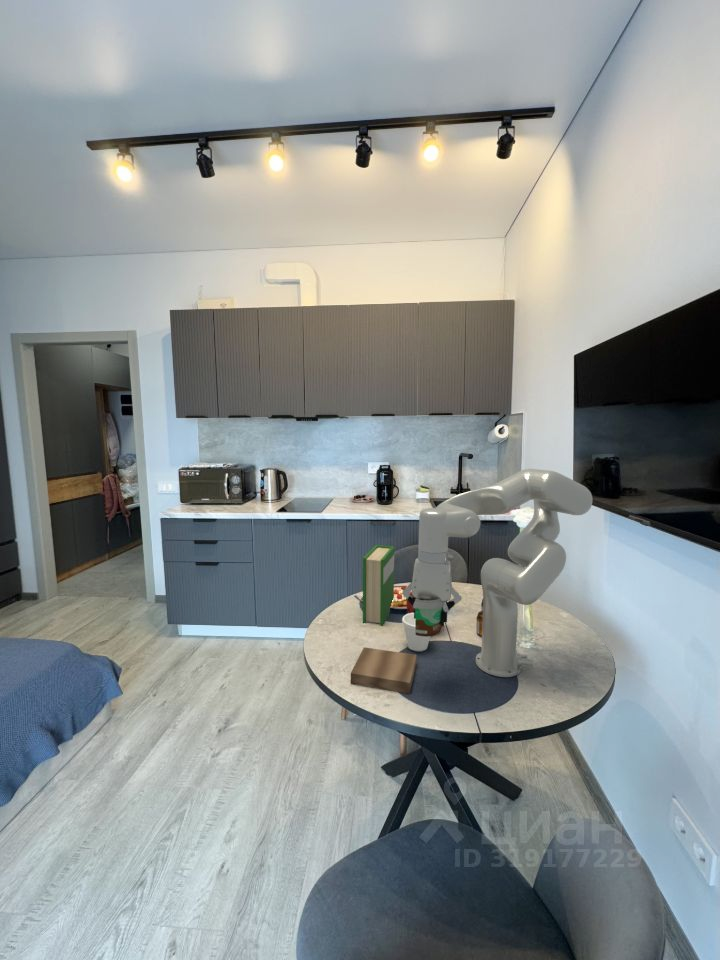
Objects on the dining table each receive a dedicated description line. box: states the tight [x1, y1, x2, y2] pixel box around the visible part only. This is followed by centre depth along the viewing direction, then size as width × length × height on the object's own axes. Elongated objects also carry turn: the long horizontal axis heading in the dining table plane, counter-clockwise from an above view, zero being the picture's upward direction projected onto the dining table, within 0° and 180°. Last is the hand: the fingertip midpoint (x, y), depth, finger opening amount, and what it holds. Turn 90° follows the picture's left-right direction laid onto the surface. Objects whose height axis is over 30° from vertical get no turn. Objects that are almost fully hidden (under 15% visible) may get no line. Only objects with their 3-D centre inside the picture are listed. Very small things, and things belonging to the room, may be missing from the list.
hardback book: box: [362, 544, 395, 627], centre depth 151 cm, size 18×7×24 cm, turn 163°
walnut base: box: [350, 647, 418, 695], centre depth 114 cm, size 16×14×3 cm
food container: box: [414, 599, 448, 637], centre depth 107 cm, size 12×6×10 cm, turn 150°
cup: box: [401, 613, 431, 653], centre depth 128 cm, size 10×10×9 cm
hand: (430, 622), depth 107 cm, fingers closed on food container, 5 cm apart
